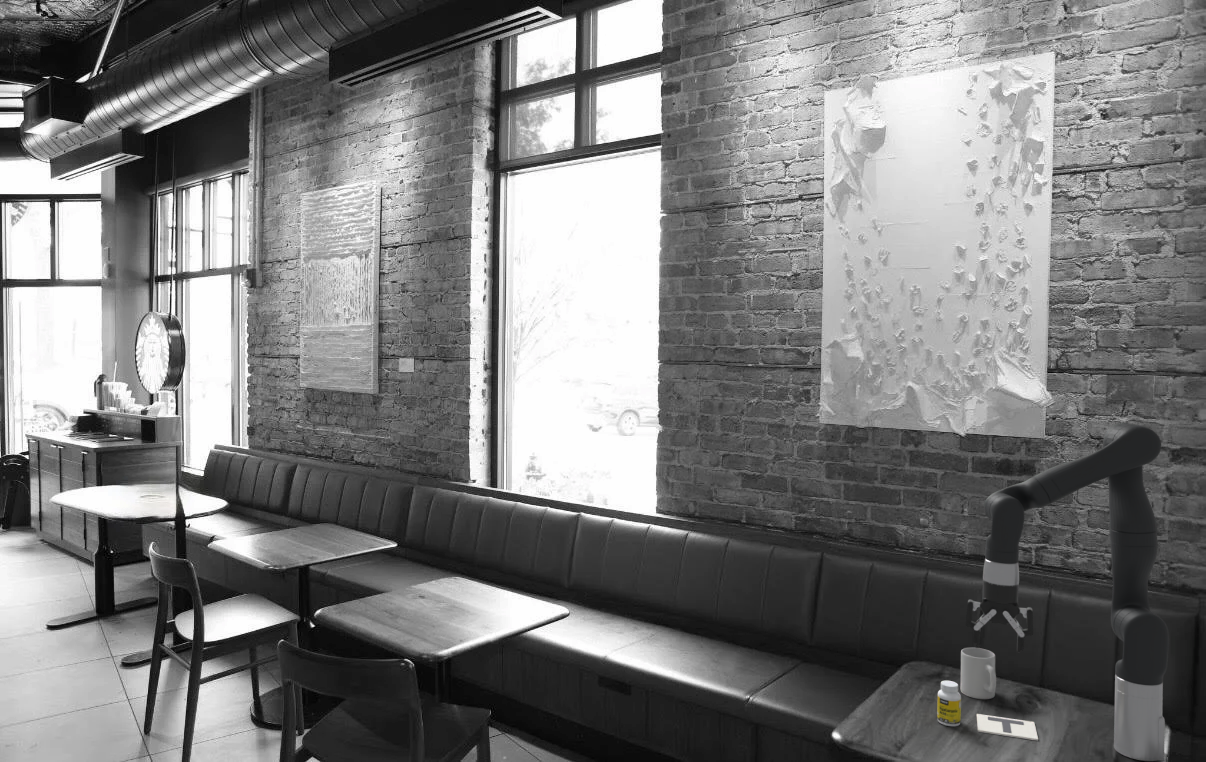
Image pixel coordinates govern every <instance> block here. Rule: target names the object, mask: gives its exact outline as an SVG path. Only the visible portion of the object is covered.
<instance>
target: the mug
mask: <svg viewBox="0 0 1206 762" xmlns="http://www.w3.org/2000/svg"><path fill="white" fill-rule="evenodd" d="M996 675H997V673H996V654H995V653H994V652H993V651H991V650H988V649H984V648H980V647H964V648H963V649H961V651H960V686H959V687H960V692H961V693H962V694H963V695H965V696H967V697H969V698H973V699H976V700H977V699H978V700H990V699H993V698H994V697H995V696H996V688H997V676H996Z"/></svg>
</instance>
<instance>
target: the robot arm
mask: <svg viewBox="0 0 1206 762" xmlns="http://www.w3.org/2000/svg"><path fill="white" fill-rule="evenodd" d="M1102 442H1103V443H1102V448H1100V449H1099V450H1097V451H1094V452H1092V453H1090V454H1088V455H1084V456H1082V457H1080V458H1076V459H1073V460H1070V461H1067V462H1063V463H1060V464H1057V465H1055V466H1052V467H1050V468H1048V469H1046V470H1043V471H1041V472H1039V473H1038V474H1036V475H1033V476H1031V477H1030V478H1028V479H1027V480H1025V481H1023V482H1020V483H1016V484H1013V485H1010V486H1007V487H1004V488H1002V489H999V490H997V491H995V492H993V493H991V494H990V495H989V496H988V497H987V498H986V499H985V501H984V503H983V511H984V514H985V515H986V517H987V518H989V520H991V530H990V534H989V535H988V536H987V537H986V540H985V551H984V553H985V555H984V557H985V558H984V564H983V572H982V594H981V595H982V599H981V601H975V600H973V599H972V598H971V599H968V600H967V605H966V606H967V607H966V617H965V626H966V627H967V628H971V629H973V630H972V631H973V643H974V644H976V647H977V648H980V647H981V628H983V627H984V626H985V625H986V624H987V623H988V622H990V623H992V624H1001V625H1003V626H1004V625H1005V626H1006V625H1007V626H1008V625H1009V624H1010V626H1011V627H1012V628H1013V630H1014V631H1015V632H1016V634H1017V637H1016V653H1019V654H1020V653H1021V652H1022V651H1024V648H1025V638H1026V637H1027V636H1030V637H1032V636H1033V635H1034V612H1033V608H1032V607H1031V606H1028V607H1020V606H1019V588H1020V587H1019V583H1020V567H1019V566H1020V565H1019V558H1020V557H1019V553H1020V547H1019V546H1020V545H1019V543H1020V540H1021V539H1022V538H1021V537H1022V535H1023V534H1022V533H1023V529H1024V524H1025V512H1026V511H1028V510H1031V509H1041V508H1044V507H1047V506H1049V505H1051V504H1053V503H1055V502H1058V501H1059V500H1061V499H1063V498H1065V497H1067V496H1069V495H1072V493H1075V492H1077V491H1079V490H1081V489H1084V488H1085V487H1087V486H1090V485H1092V484H1094V483H1097V482H1099V481H1101V480H1104V479H1106V478H1107V481H1108V507H1109V509H1108V511H1109V544H1110V554H1111V555H1110V556H1111V570H1112V571H1111V573H1112V594H1111V595H1112V597H1111V607H1110V608H1111V609H1110V626H1111V628H1112V631H1113V633H1114V634H1115V636H1116V637H1117V638H1118V640H1121V641H1122V642H1123V647H1122V648H1123V649H1122V659H1119V660H1117V661H1116V663H1115V668H1114V669H1115V670H1114V672H1115V675H1114V679H1115V680H1114V720H1113V721H1114V723H1113V724H1114V726H1113V727H1114V730H1113V731H1114V732H1113V748H1114V750H1115V751H1116V752H1117V753H1119V754H1120V755H1123V756H1124V757H1126V758H1130V759H1134V760H1137V761H1144V762H1156V761H1159V762H1160V761H1161V762H1165V733H1166V732H1165V731H1166V730H1165V729H1166V728H1165V727H1166V726H1165V725H1166V722H1165V721H1166V720H1165V717H1164V716H1163V698H1164V697H1163V695H1164V694H1163V692H1164V691H1163V690H1164V689H1163V687H1164V686H1163V685H1164V675H1165V674H1166V672H1167V669H1168V663H1169V662H1168V659H1169V646H1170V634H1169V629H1168V626H1167V624H1166V622H1165V620H1164V619H1162V618H1161V617H1160V616H1159V615H1157V614H1156V613H1154V612H1153V611H1151V607H1150V601H1149V591H1148V590H1149V589H1148V588H1149V586H1148V584H1149V579H1150V575H1151V572H1152V570H1153V568H1154V565H1155V563H1156V559H1157V555H1158V547H1159V545H1158V527H1157V524H1158V523H1157V521H1156V517H1155V516H1156V515H1155V513H1154V511H1153V507H1152V504H1151V502H1150V500H1149V497H1148V495H1147V492H1146V488H1145V486H1144V476H1143V475H1144V474H1143V472H1144V471H1143V468H1144V466H1145V465H1148V464H1150V463H1152V462H1153V461H1154V460H1155V459H1157V458H1158V456H1159V455H1160V453H1161V450H1162V441H1161V438H1160V436H1159V435H1158V434H1157V432H1156V431H1154V430H1153V429H1151V428H1150V427H1146V426H1144V425H1140V424H1133V423H1126V422H1124V423H1123V422H1120V423H1117V424H1116V423H1115V424H1114V425H1111V426H1110V427H1109V428H1108V429H1107V431H1106V432H1105V434H1104V436H1103V439H1102ZM977 608H979V609H980V611H982V613H983V614H982V615H981V616H980V617H979V619H977V620H976V621H973V620H972V619H973V612H975V611H977V610H978V609H977ZM1019 614H1022V617H1023V618H1024V619H1026V628H1023V627H1022V626H1021V625H1020V623H1019V621H1018V620H1017V619H1016V618H1017V616H1019Z"/></svg>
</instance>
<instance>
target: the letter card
mask: <svg viewBox="0 0 1206 762" xmlns="http://www.w3.org/2000/svg"><path fill="white" fill-rule="evenodd" d="M976 722H977V723H976V724H977V732H979V733H985V734H992V735H999V736H1004V737H1012V738H1017V739H1026V740H1032V741H1039V737H1038V733H1037V727H1036V725H1035V721H1031V720H1024V719H1023V720H1022V719H1016V718H1015V719H1014V718H1008V717H1001V716H994V715H988V714H987V715H986V714H981V713H976Z"/></svg>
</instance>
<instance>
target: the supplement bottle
mask: <svg viewBox="0 0 1206 762" xmlns="http://www.w3.org/2000/svg"><path fill="white" fill-rule="evenodd" d="M936 703H937V704H936V705H937V710H936V714H937V715H936V718H937V719H936V720H937V722H939V723H940V724H941V725H943V726H946V727H947V726H948V727H958V726H959V725H961V721H962V720H961V718H962V717H961V716H962V695H961V693H960V692H959V684H958V683H957V682H955V681H951V680H942V681H941V682H940V689H939V690H938V691H937V702H936Z"/></svg>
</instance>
